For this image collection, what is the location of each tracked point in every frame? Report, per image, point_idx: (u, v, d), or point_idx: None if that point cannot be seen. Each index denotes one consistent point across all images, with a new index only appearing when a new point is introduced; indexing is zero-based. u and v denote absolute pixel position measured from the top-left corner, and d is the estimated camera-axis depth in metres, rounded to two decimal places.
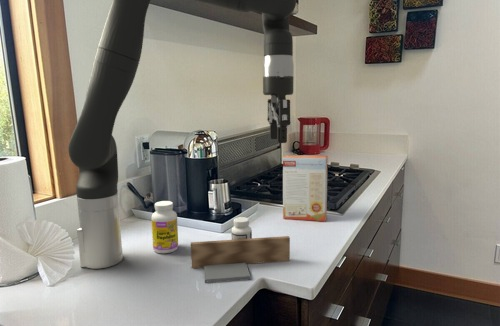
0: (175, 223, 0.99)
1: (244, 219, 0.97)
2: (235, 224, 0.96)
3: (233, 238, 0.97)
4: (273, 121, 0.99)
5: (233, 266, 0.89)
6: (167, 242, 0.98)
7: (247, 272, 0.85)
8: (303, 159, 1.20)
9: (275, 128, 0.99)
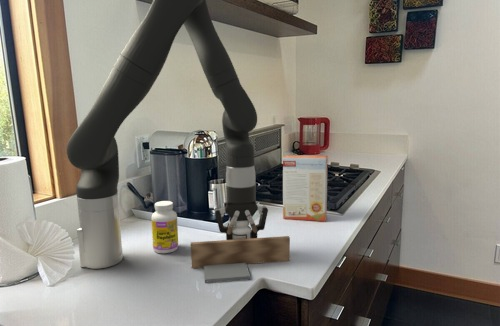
0: (175, 223, 0.99)
1: None
2: (235, 224, 0.96)
3: (233, 238, 0.97)
4: None
5: (233, 266, 0.89)
6: (167, 242, 0.98)
7: (247, 272, 0.85)
8: (303, 159, 1.20)
9: None
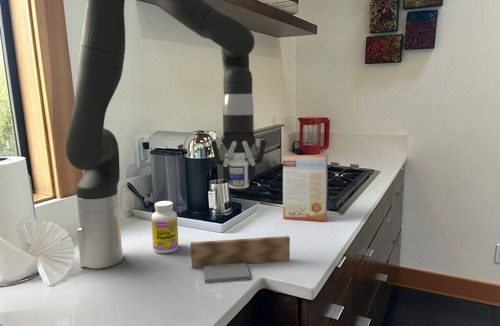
0: (175, 223, 0.99)
1: None
2: (232, 156, 0.93)
3: (230, 171, 0.93)
4: None
5: (233, 266, 0.89)
6: (167, 242, 0.98)
7: (247, 272, 0.85)
8: (303, 159, 1.20)
9: None
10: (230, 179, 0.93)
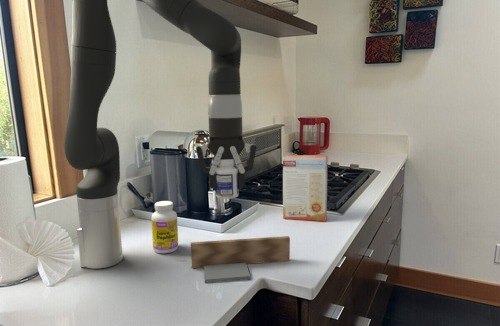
0: (175, 223, 0.99)
1: None
2: (219, 163, 0.84)
3: (217, 179, 0.85)
4: None
5: (233, 266, 0.89)
6: (167, 242, 0.98)
7: (247, 272, 0.85)
8: (303, 159, 1.20)
9: None
10: (217, 188, 0.85)
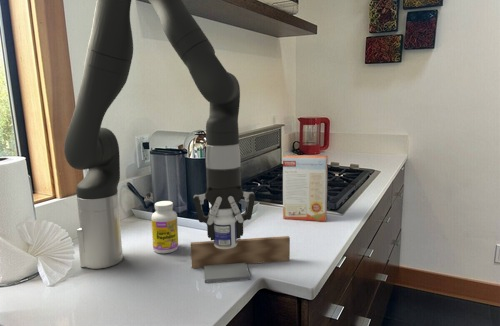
0: (175, 223, 0.99)
1: None
2: (217, 213, 0.82)
3: (215, 229, 0.83)
4: None
5: (233, 266, 0.89)
6: (167, 242, 0.98)
7: (247, 272, 0.85)
8: (303, 159, 1.20)
9: None
10: (215, 238, 0.83)
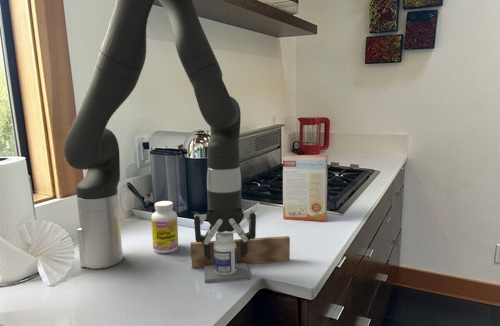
0: (175, 223, 0.99)
1: (227, 234, 0.85)
2: (217, 240, 0.84)
3: (215, 256, 0.84)
4: None
5: None
6: (167, 242, 0.98)
7: (247, 272, 0.85)
8: (303, 159, 1.20)
9: None
10: (215, 264, 0.84)
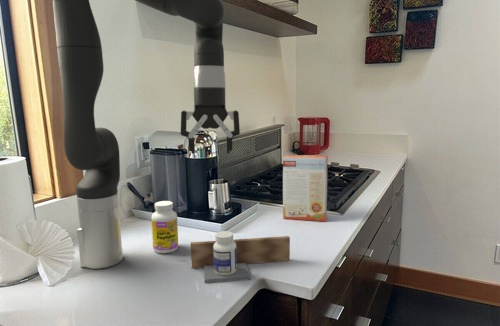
0: (175, 223, 0.99)
1: (227, 234, 0.85)
2: (217, 240, 0.84)
3: (215, 256, 0.84)
4: None
5: None
6: (167, 242, 0.98)
7: (247, 272, 0.85)
8: (303, 159, 1.20)
9: (194, 141, 0.92)
10: (215, 264, 0.84)
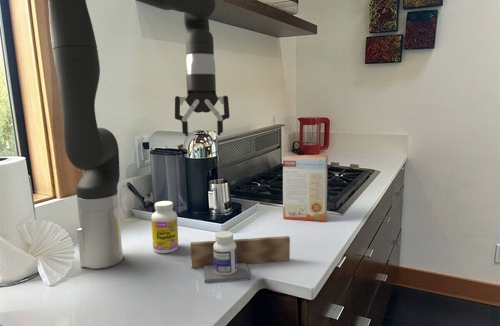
0: (175, 223, 0.99)
1: (227, 234, 0.85)
2: (217, 240, 0.84)
3: (215, 256, 0.84)
4: None
5: None
6: (167, 242, 0.98)
7: (247, 272, 0.85)
8: (303, 159, 1.20)
9: None
10: (215, 264, 0.84)
